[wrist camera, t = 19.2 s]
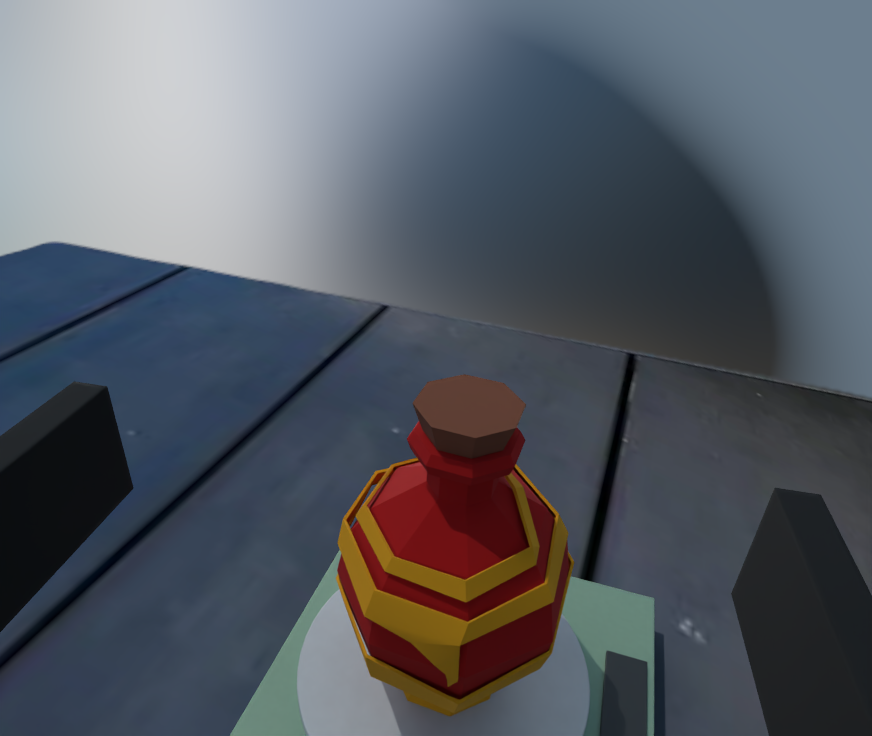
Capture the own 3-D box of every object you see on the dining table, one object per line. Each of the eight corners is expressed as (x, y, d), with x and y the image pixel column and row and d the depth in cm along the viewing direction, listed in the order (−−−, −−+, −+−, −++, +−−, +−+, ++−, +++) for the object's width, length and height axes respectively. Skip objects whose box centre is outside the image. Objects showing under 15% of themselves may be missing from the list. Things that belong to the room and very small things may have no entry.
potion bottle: (592, 658, 31) (663, 405, 23) (457, 833, 24) (494, 555, 17) (435, 546, 37) (451, 315, 29) (290, 661, 30) (263, 398, 22)
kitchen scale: (645, 627, 36) (657, 590, 35) (638, 981, 23) (658, 947, 21) (357, 548, 41) (356, 512, 39) (211, 810, 27) (201, 771, 26)
